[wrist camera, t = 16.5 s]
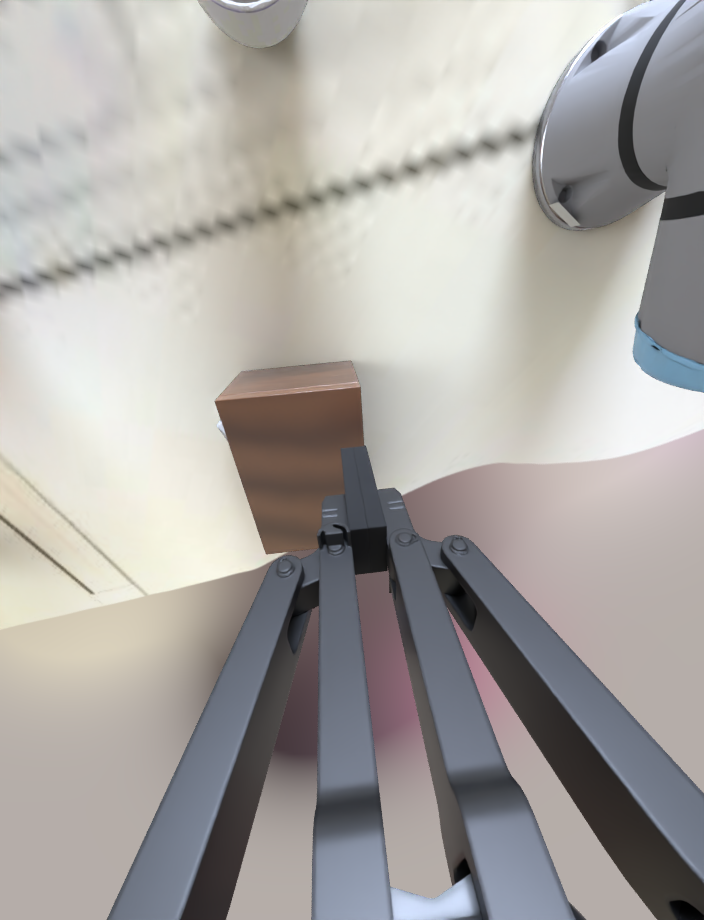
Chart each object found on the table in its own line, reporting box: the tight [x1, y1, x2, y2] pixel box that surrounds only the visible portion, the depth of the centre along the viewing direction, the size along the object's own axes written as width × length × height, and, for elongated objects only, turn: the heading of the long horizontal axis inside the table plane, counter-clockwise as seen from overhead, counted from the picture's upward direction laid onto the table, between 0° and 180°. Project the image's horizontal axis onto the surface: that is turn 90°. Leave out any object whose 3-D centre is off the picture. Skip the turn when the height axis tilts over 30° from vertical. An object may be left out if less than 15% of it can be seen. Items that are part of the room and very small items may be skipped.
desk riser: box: [215, 361, 364, 554], centre depth 41 cm, size 23×15×12 cm, turn 4°
